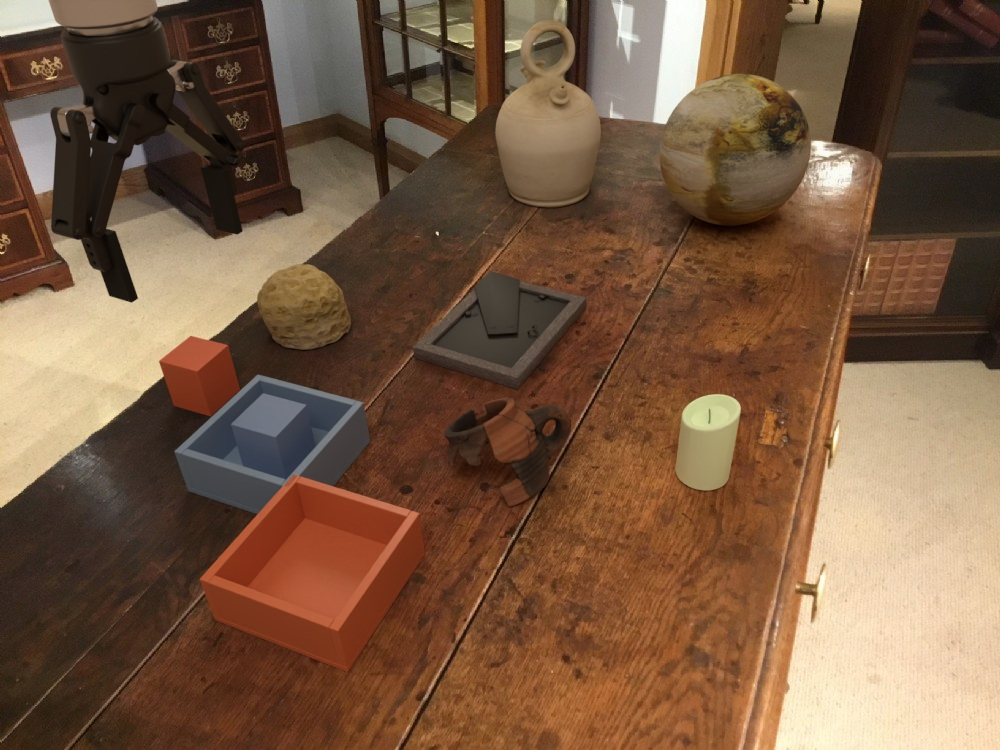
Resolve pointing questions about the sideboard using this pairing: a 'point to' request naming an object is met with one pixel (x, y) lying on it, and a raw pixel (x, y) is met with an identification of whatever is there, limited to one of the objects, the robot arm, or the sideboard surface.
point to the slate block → (274, 435)
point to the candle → (707, 441)
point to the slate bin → (225, 479)
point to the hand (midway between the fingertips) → (179, 262)
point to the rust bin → (316, 570)
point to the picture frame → (501, 330)
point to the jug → (548, 130)
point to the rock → (303, 308)
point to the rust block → (200, 375)
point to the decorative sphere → (735, 149)
